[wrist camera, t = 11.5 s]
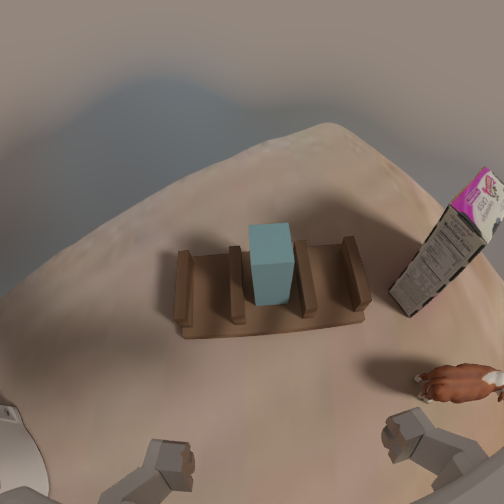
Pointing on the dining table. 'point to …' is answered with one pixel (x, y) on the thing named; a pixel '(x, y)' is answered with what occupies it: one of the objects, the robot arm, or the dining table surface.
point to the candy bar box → (452, 242)
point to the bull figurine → (461, 383)
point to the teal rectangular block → (271, 262)
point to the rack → (270, 316)
